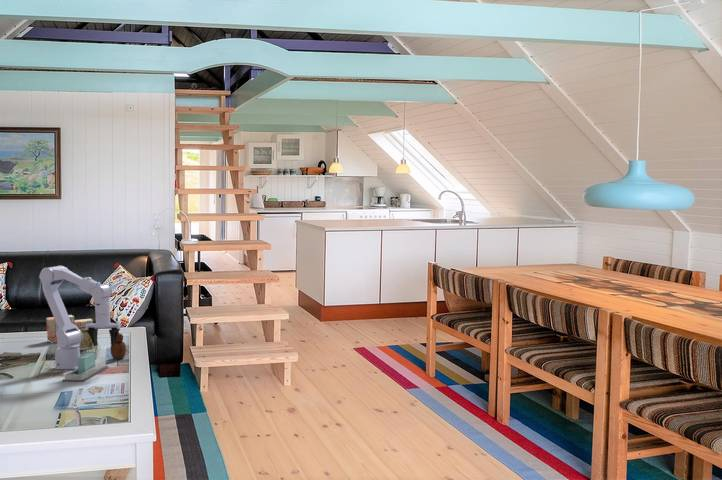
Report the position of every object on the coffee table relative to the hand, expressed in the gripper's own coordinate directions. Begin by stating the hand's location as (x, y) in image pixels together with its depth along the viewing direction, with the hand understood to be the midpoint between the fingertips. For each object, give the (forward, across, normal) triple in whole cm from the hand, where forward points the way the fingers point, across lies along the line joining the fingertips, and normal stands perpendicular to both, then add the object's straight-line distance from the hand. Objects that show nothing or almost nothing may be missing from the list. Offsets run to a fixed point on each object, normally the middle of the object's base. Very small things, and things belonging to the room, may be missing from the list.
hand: (104, 345), depth 305 cm
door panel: (+10, -5, -6) cm, 13 cm away
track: (+10, -5, -7) cm, 13 cm away
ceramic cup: (+11, -27, +39) cm, 49 cm away
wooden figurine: (+11, -3, +20) cm, 23 cm away
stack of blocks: (+11, -45, +59) cm, 75 cm away
